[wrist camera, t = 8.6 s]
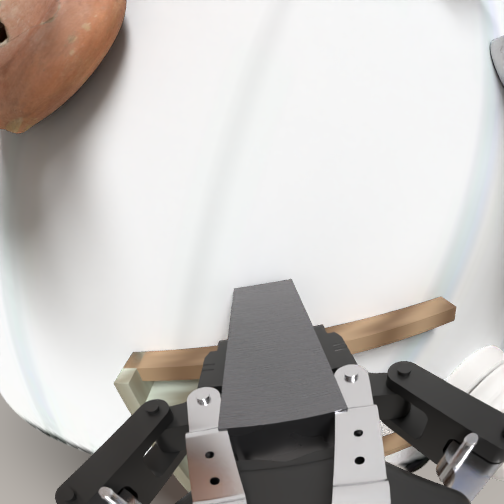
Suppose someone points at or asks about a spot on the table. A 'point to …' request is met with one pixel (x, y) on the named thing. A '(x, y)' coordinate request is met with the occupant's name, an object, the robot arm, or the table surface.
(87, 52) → the ceramic jug
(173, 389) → the wooden frame
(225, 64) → the table surface
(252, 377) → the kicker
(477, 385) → the honey pot
